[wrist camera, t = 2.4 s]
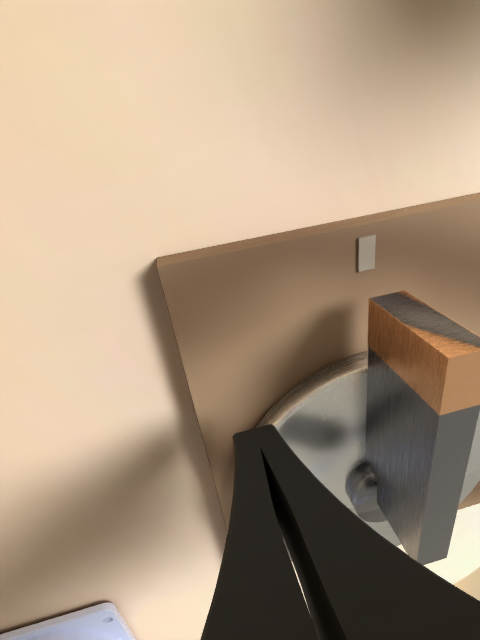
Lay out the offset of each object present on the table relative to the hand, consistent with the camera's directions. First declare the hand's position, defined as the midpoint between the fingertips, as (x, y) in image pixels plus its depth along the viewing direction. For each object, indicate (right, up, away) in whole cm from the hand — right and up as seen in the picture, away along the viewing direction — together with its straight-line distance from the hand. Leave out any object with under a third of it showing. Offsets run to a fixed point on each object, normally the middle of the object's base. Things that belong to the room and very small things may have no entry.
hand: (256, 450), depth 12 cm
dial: (+5, -1, +4) cm, 7 cm away
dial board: (+6, 0, +5) cm, 8 cm away
